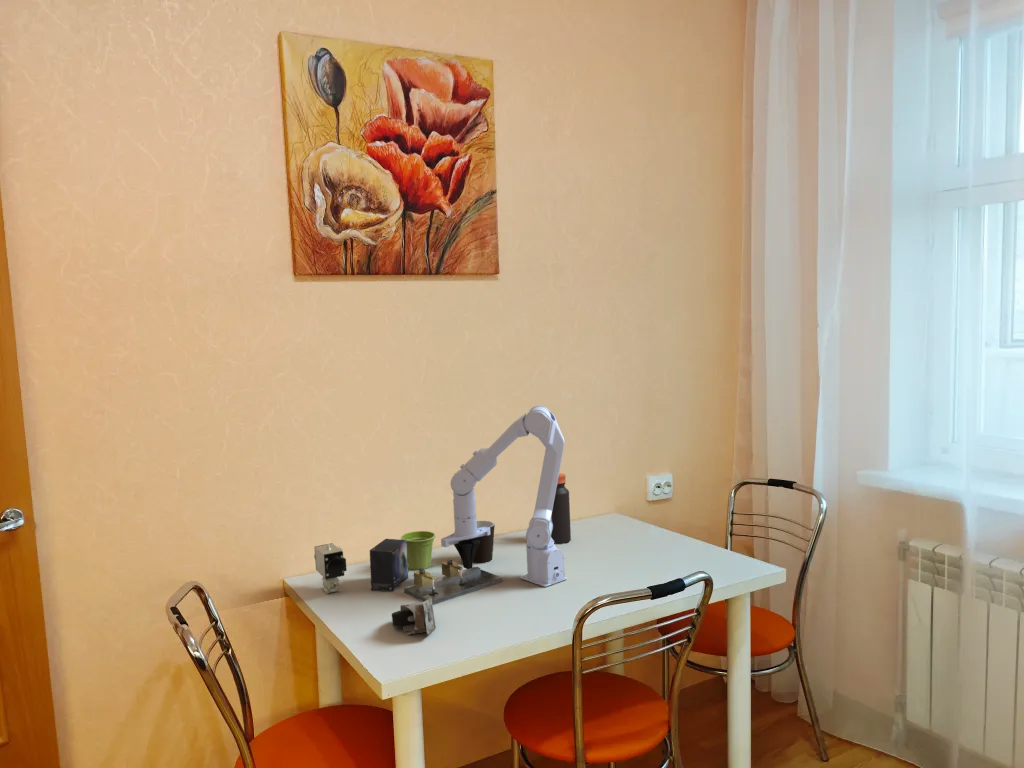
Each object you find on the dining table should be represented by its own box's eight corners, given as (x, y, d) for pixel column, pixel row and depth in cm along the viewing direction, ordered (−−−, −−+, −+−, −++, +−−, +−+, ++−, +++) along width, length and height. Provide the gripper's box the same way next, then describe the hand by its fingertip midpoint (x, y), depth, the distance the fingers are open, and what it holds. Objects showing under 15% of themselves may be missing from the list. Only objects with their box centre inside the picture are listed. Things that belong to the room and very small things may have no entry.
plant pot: (443, 563, 206) (442, 532, 205) (423, 574, 198) (421, 542, 197) (416, 559, 210) (415, 529, 210) (395, 569, 202) (393, 538, 202)
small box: (394, 592, 185) (392, 551, 184) (370, 591, 187) (367, 550, 186) (409, 577, 195) (407, 538, 195) (386, 576, 197) (384, 538, 196)
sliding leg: (466, 581, 186) (465, 563, 185) (458, 584, 184) (457, 565, 184) (450, 575, 191) (449, 557, 190) (442, 578, 189) (441, 559, 189)
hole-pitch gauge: (502, 581, 190) (501, 558, 189) (431, 605, 175) (430, 580, 175) (474, 570, 199) (472, 548, 198) (404, 592, 184) (402, 569, 184)
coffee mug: (495, 564, 203) (493, 528, 202) (464, 565, 203) (462, 529, 203) (497, 551, 215) (495, 517, 214) (467, 552, 215) (465, 518, 214)
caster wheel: (401, 630, 168) (443, 624, 166) (384, 641, 157) (430, 634, 155) (396, 600, 169) (439, 594, 167) (380, 608, 158) (425, 602, 156)
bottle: (574, 539, 223) (572, 473, 222) (564, 545, 217) (561, 478, 216) (555, 536, 227) (552, 472, 225) (544, 542, 221) (541, 476, 219)
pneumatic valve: (328, 599, 182) (325, 552, 181) (315, 586, 192) (312, 540, 191) (350, 594, 184) (347, 547, 183) (336, 581, 195) (333, 537, 194)
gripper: (477, 508, 199) (480, 557, 200) (433, 519, 189) (435, 571, 190) (494, 512, 193) (496, 563, 194) (449, 524, 184) (452, 577, 185)
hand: (467, 567), depth 192 cm, fingers closed
